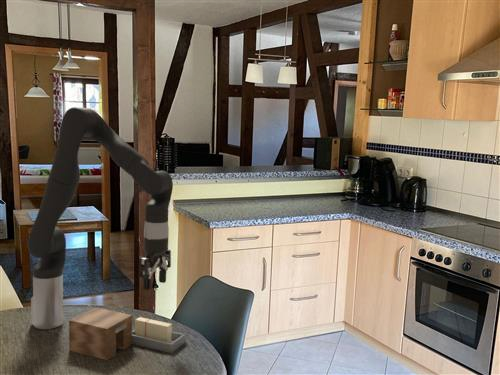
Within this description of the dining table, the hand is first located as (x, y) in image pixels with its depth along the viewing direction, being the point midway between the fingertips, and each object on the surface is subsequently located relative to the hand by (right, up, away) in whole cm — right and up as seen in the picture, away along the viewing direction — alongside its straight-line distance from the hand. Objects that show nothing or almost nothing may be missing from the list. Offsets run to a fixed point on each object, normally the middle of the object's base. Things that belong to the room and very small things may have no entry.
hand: (154, 286), depth 153 cm
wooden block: (-16, -18, -3) cm, 24 cm away
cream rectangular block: (-1, -18, +2) cm, 18 cm away
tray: (0, -18, +2) cm, 18 cm away
